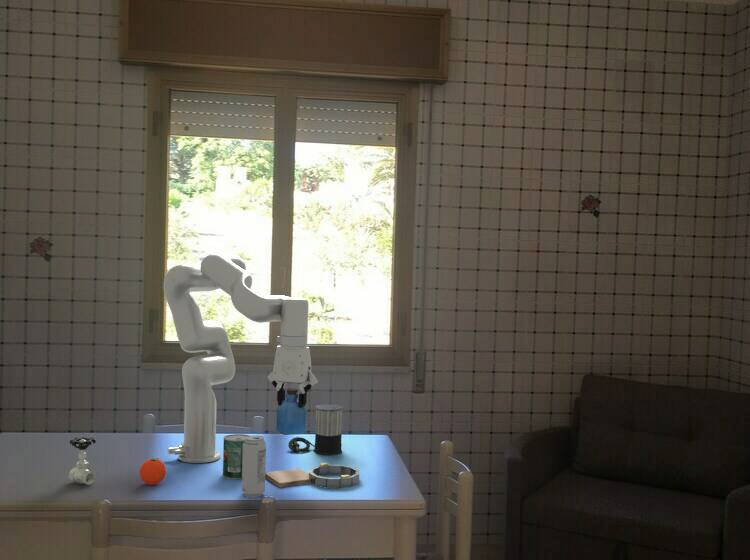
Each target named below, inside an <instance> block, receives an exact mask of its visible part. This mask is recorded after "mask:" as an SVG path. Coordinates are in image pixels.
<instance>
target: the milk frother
mask: <svg viewBox="0 0 750 560" xmlns="http://www.w3.org/2000/svg"><path fill="white" fill-rule="evenodd" d="M314 408H315V433H314V434H315V436H314V444H313V443H312V442H311V441H309V440H308V439H306V438H304V437H299V436H296V437H293V438H291V439H290V440H289V441H288V445H287V446H288V448H289V450H291V451H293V452H298V453H304V452H307V451H309V450H310V448H311V446H312V447H314V448H313V452H314V453H315V454H318V455H322V456H333V455H334V456H335V455H339V454H342V452H343V450H342V444H343V443H342V437H343V436H342V435H343V434H342V433H343V432H342V431H343V410H344V406H342V405H339V404H335V403H322V404H318V405H315V406H314ZM298 442H302V443H304V444H305V445H306V446H304V447H303V448H302V447H301V448H300V444H299V443H298Z"/></svg>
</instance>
